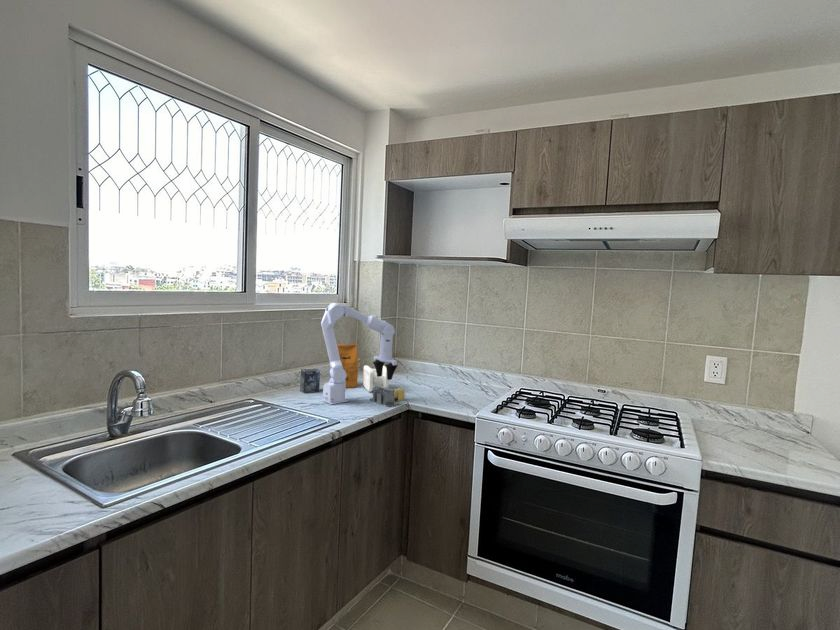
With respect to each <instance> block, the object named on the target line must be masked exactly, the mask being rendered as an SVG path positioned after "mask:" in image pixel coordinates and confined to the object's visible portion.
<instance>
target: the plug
mask: <svg viewBox="0 0 840 630" xmlns="http://www.w3.org/2000/svg"><path fill="white" fill-rule="evenodd" d="M393 390H395V393H394V402H401V401H402V400H403V401H405V398H406V397H405V396H406V394H405V393H406V389H405V388H402V387H397V388H393ZM383 399H384V394H383V393H377V402H376V404H378V405H383Z"/></svg>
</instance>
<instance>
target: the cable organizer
mask: <svg viewBox="0 0 840 630" xmlns="http://www.w3.org/2000/svg"><path fill="white" fill-rule="evenodd" d="M362 372H363V375H362V376H363V377H362V385H363V387H364V388H365V390H367V392H368V393H371V392H373V389H376V388H378V387H379V386H383V387H387V388H389V381H390V380H387V369H386V366H385V364H384V365H383V369H382V376H380V377H377V373H376V369H375V368H371V366H369V365H364V366H363V371H362ZM384 392H386V391H385V390H384Z"/></svg>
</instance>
